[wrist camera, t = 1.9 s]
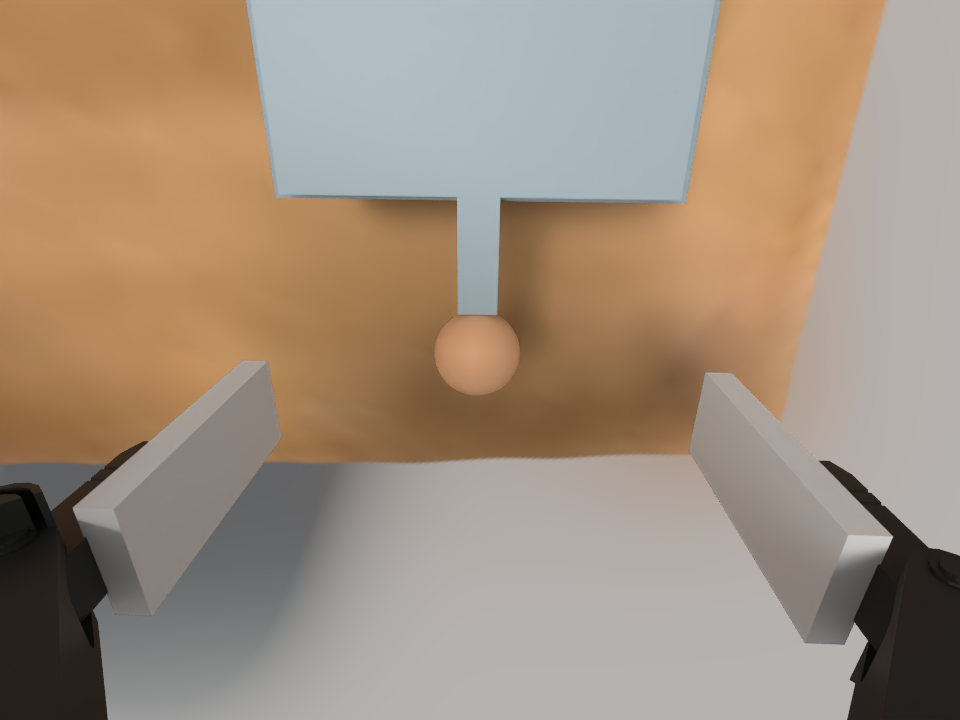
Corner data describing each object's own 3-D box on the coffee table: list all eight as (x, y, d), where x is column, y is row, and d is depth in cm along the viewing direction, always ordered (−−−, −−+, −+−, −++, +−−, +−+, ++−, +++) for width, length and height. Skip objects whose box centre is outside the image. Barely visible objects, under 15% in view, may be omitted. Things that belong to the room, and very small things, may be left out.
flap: (323, 369, 21) (295, 407, 18) (227, -364, 13) (147, -515, 10) (634, 375, 21) (657, 415, 18) (749, -366, 12) (828, -520, 9)
